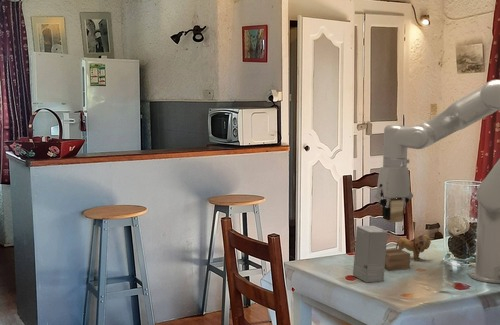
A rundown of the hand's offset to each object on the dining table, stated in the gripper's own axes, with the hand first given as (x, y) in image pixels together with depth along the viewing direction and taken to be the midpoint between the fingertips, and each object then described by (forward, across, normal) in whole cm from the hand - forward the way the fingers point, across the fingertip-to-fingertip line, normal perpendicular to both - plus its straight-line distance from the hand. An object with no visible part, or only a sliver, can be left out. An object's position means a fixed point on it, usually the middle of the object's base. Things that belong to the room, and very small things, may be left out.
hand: (393, 218), depth 197 cm
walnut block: (+16, 0, 0) cm, 16 cm away
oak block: (+1, 0, 0) cm, 1 cm away
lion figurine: (+16, -13, -7) cm, 22 cm away
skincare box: (+16, +14, +9) cm, 24 cm away
